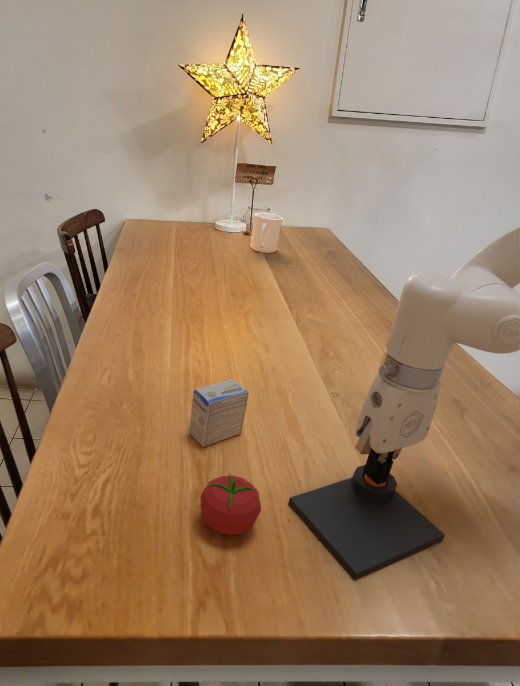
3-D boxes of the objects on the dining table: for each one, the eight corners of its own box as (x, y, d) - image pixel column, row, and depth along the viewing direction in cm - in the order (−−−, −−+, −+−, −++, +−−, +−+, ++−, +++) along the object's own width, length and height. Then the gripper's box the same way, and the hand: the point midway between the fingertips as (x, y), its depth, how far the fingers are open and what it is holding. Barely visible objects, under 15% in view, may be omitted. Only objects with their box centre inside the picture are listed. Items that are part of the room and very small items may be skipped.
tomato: (191, 538, 68) (197, 492, 65) (203, 497, 75) (209, 453, 72) (253, 553, 67) (262, 507, 64) (260, 510, 74) (269, 466, 71)
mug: (275, 247, 192) (281, 214, 187) (278, 257, 182) (284, 222, 176) (249, 243, 192) (254, 211, 186) (250, 253, 181) (255, 219, 176)
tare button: (373, 477, 81) (376, 468, 81) (388, 490, 79) (391, 481, 78) (357, 482, 80) (360, 473, 79) (372, 496, 77) (375, 487, 77)
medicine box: (226, 420, 92) (232, 377, 88) (242, 434, 89) (249, 390, 85) (187, 433, 88) (193, 388, 84) (203, 448, 85) (209, 402, 81)
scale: (371, 476, 84) (376, 460, 82) (442, 540, 73) (449, 524, 72) (287, 503, 76) (291, 487, 75) (354, 580, 66) (360, 563, 64)
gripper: (390, 392, 64) (353, 508, 72) (471, 374, 71) (429, 481, 79) (348, 362, 69) (318, 473, 78) (427, 348, 77) (392, 451, 85)
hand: (374, 477), depth 79 cm, fingers closed
